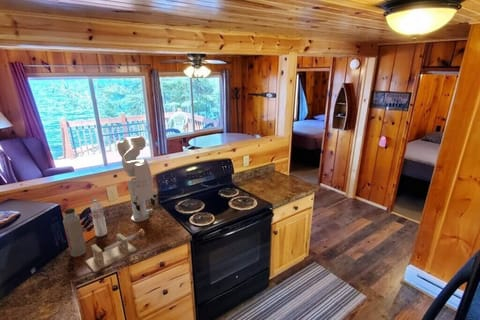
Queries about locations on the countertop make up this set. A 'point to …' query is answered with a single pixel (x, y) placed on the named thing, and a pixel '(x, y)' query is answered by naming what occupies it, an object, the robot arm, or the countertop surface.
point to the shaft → (141, 232)
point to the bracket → (109, 254)
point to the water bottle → (98, 219)
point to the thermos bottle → (74, 233)
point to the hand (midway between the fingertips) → (146, 207)
